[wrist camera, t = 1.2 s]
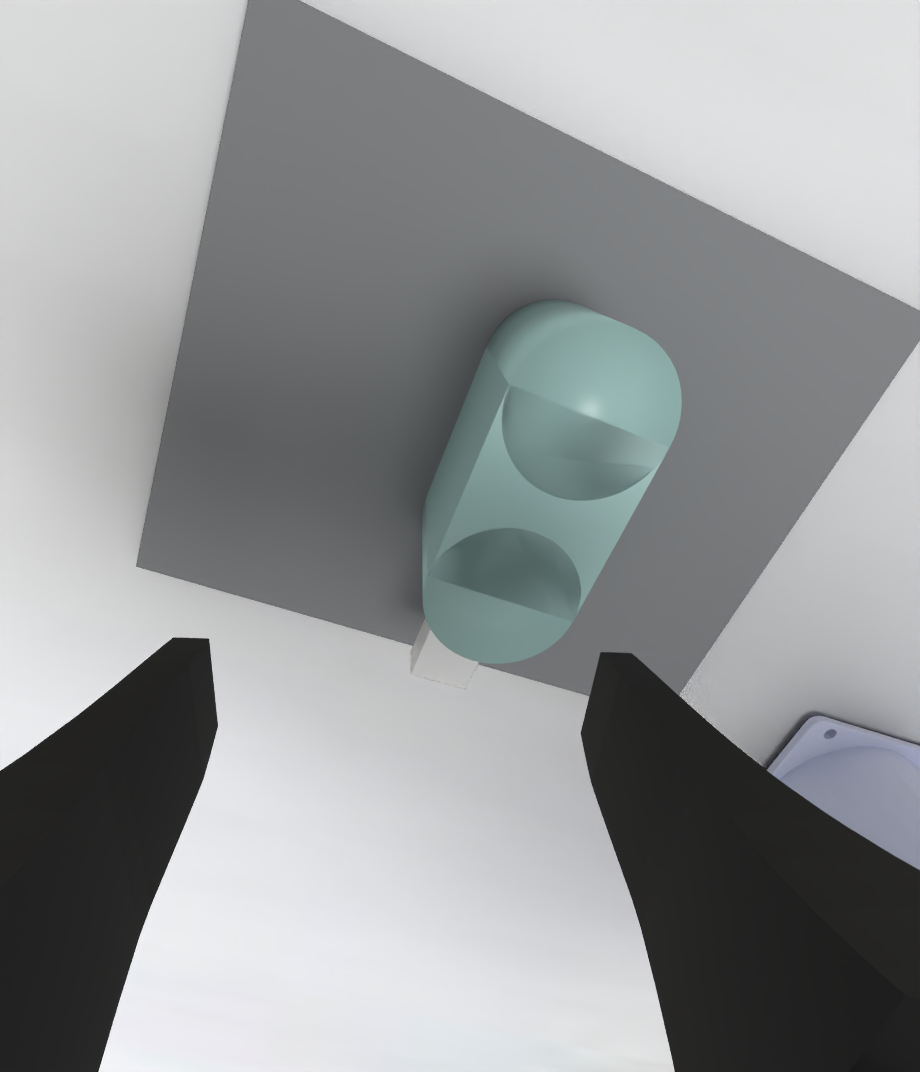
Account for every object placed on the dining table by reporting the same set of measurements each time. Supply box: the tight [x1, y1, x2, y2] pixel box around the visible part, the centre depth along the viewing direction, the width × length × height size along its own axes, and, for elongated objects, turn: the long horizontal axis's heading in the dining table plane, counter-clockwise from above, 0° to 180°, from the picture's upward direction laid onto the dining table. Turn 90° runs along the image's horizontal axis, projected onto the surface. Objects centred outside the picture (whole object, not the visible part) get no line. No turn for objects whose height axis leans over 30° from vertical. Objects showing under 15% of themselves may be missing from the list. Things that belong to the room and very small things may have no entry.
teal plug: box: [411, 299, 682, 689], centre depth 17 cm, size 11×4×5 cm, turn 158°
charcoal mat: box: [136, 0, 920, 696], centre depth 19 cm, size 20×16×1 cm
